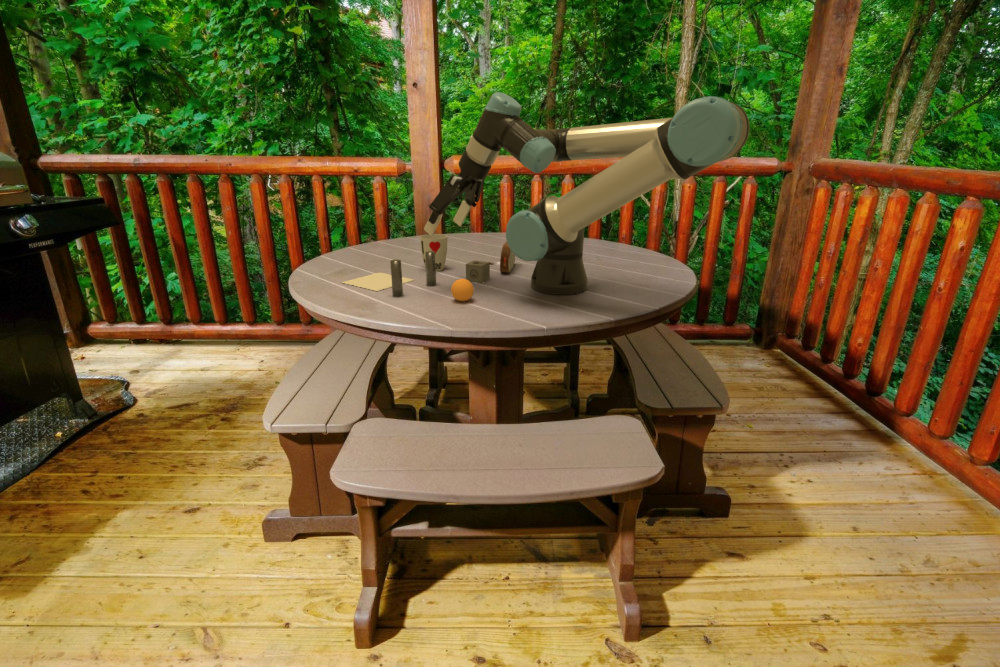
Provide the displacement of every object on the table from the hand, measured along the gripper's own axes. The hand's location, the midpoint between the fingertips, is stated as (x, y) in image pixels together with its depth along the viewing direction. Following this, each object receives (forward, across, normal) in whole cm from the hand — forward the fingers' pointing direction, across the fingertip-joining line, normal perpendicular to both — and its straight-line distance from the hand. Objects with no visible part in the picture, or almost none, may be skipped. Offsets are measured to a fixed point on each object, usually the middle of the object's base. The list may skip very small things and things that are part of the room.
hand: (443, 227), depth 140 cm
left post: (+14, +16, +5) cm, 22 cm away
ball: (+3, +12, +18) cm, 21 cm away
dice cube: (+10, -7, +14) cm, 18 cm away
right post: (+14, +4, +6) cm, 16 cm away
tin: (+9, -22, +16) cm, 28 cm away
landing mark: (+22, +8, -6) cm, 24 cm away
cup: (+19, -11, -1) cm, 22 cm away
